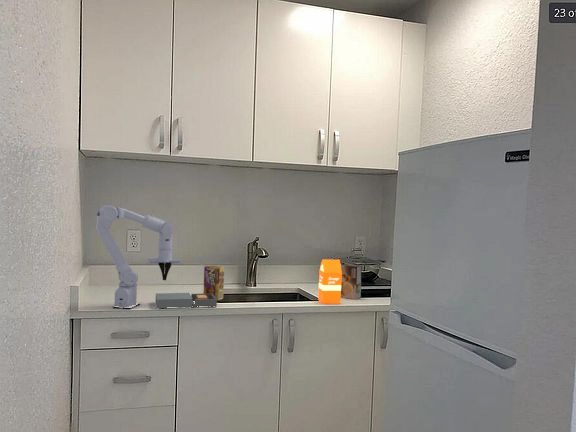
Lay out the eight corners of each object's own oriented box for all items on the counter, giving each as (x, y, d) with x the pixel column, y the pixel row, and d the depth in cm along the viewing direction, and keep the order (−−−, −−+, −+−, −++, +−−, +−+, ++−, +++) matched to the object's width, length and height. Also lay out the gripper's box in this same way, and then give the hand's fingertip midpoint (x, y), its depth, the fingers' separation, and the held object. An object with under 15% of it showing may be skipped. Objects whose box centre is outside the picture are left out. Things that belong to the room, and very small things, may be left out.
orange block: (207, 297, 223) (207, 304, 224) (205, 294, 229) (205, 301, 229) (198, 297, 222) (198, 304, 222) (196, 295, 228) (196, 301, 228)
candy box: (223, 299, 238) (224, 266, 237) (218, 300, 234) (219, 267, 233) (208, 296, 242) (209, 264, 241) (202, 298, 238) (203, 265, 238)
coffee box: (361, 297, 254) (362, 265, 253) (356, 299, 248) (357, 266, 248) (344, 295, 259) (345, 263, 258) (339, 297, 253) (340, 264, 252)
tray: (192, 307, 218) (193, 299, 218) (189, 301, 230) (189, 293, 230) (216, 307, 221) (216, 299, 221) (211, 300, 233) (212, 293, 233)
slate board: (157, 309, 213) (157, 299, 213) (155, 302, 226) (155, 293, 226) (192, 308, 218) (192, 298, 218) (188, 301, 230) (188, 292, 230)
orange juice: (318, 299, 244) (319, 258, 243) (335, 299, 246) (337, 258, 245) (322, 303, 237) (324, 260, 236) (340, 303, 238) (342, 260, 238)
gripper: (148, 250, 217) (147, 281, 218) (183, 250, 222) (182, 281, 222) (147, 248, 224) (147, 278, 225) (181, 248, 228) (180, 278, 229)
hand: (164, 279), depth 224 cm, fingers closed
